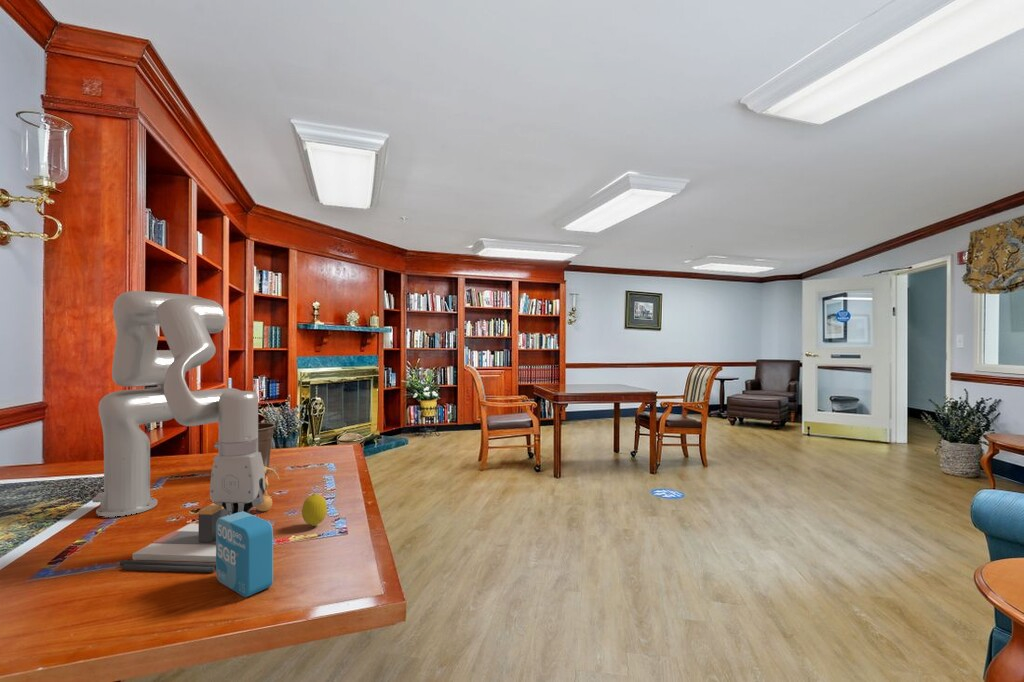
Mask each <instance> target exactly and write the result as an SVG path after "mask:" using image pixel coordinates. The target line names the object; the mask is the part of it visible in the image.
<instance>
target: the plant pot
mask: <svg viewBox="0 0 1024 682" xmlns="http://www.w3.org/2000/svg"><path fill="white" fill-rule="evenodd" d="M275 428H276V424H274V423H272V422H271V423H270V422H258V452H260V453H261V456H262V460H263V465H264V466H265V467H268V468H270V459H271V451H272V442H273V441H272V440H273V439H272V438H273V437H274V429H275ZM269 472H270V471H269V470H266V473H265V474H266V475H267V474H268V473H269Z"/></svg>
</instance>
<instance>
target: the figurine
mask: <svg viewBox="0 0 1024 682" xmlns="http://www.w3.org/2000/svg"><path fill="white" fill-rule="evenodd" d="M266 470H269V472H273V474H274V475H275V476H276V477H277V479H278V481H280V477H279V474H278V473H277V471H276V470H275V469H273V468H271V467H269V468H268V467H265V466H264V473H266ZM268 479H269V477H268V476H265V493H264V495H263V499H264V503H263V504H261V505H259V506H255V508H256V510H257V511H259V512H266V511H268V510H270V509H271V508H272V506H273V499H272V497H270V496H269V494H268V491H267V490H268V487H269V481H268Z"/></svg>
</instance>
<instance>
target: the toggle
mask: <svg viewBox="0 0 1024 682" xmlns="http://www.w3.org/2000/svg"><path fill="white" fill-rule="evenodd" d="M224 516H228V514H227V510H226V509H225V508H224V507H223V506H219V505H216V504H214V502H213V503H211V504H209V505H207V506H205V507H202V508H200V509H198V524H199V542H214V541H215V540H216V522H217V520H218V519H219V518H221V517H224Z"/></svg>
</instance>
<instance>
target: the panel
mask: <svg viewBox="0 0 1024 682" xmlns="http://www.w3.org/2000/svg"><path fill="white" fill-rule="evenodd" d="M132 560H135V561H167V562H200V563H216V540H215V541H214V542H199V523H193V522H191V523H188V524H186V525H185V526H183V527H181V528H178V529H177V530H173V531H171V532H169V533H167V534H165V535H163V536H160V537H159V538H157V539H155V540H154V541H152V542H151V543H150V544H148V545H146V546H144V547H142V548H141V549H139V550H137V551H135V552H133V553H132Z"/></svg>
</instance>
